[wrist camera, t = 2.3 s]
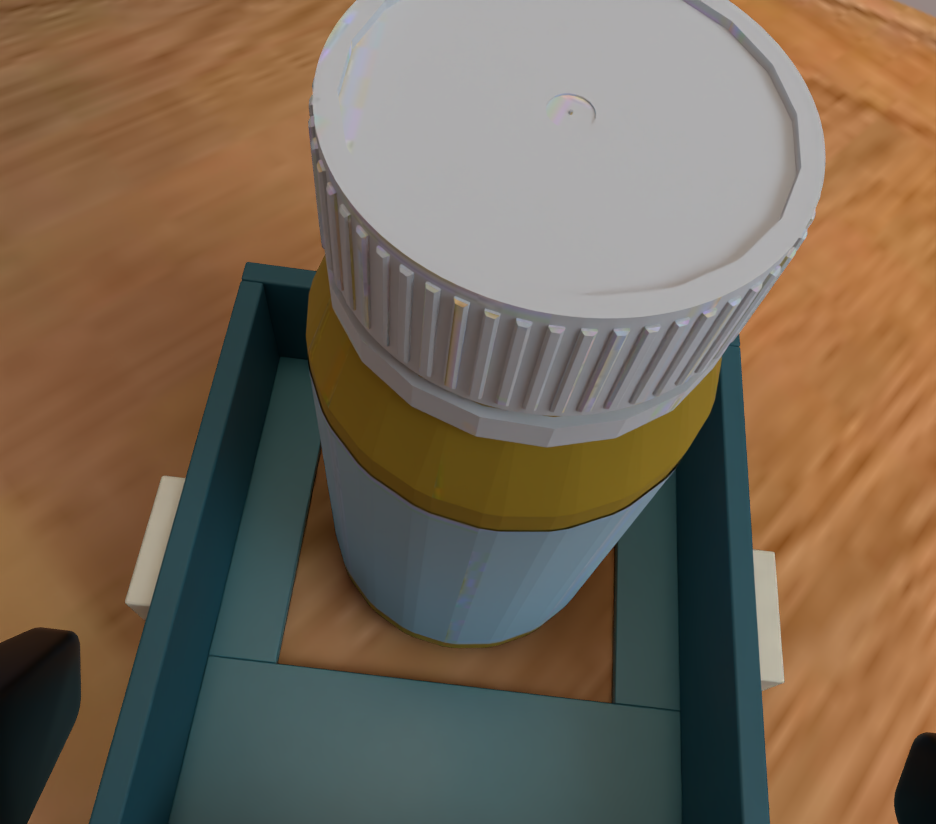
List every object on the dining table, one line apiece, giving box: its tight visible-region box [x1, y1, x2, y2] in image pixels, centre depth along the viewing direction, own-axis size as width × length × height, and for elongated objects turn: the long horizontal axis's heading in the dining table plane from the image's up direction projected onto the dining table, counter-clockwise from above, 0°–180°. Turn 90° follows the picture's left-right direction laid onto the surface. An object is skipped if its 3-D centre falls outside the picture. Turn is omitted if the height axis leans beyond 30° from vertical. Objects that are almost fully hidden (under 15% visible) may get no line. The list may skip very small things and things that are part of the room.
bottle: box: [306, 0, 825, 648], centre depth 16 cm, size 7×7×15 cm
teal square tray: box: [89, 262, 784, 824], centre depth 20 cm, size 15×14×4 cm
